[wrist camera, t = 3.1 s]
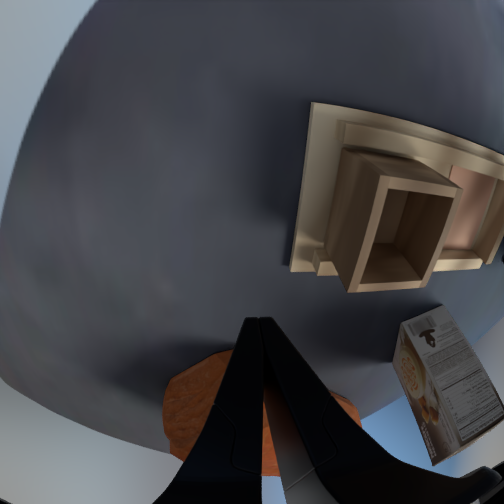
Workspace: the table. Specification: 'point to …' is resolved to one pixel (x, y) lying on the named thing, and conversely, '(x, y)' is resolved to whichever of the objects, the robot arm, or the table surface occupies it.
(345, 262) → the crate
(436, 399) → the coffee box
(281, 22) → the table surface
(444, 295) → the table surface
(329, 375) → the table surface
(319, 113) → the beige cubby shelf
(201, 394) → the bread
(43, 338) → the table surface
